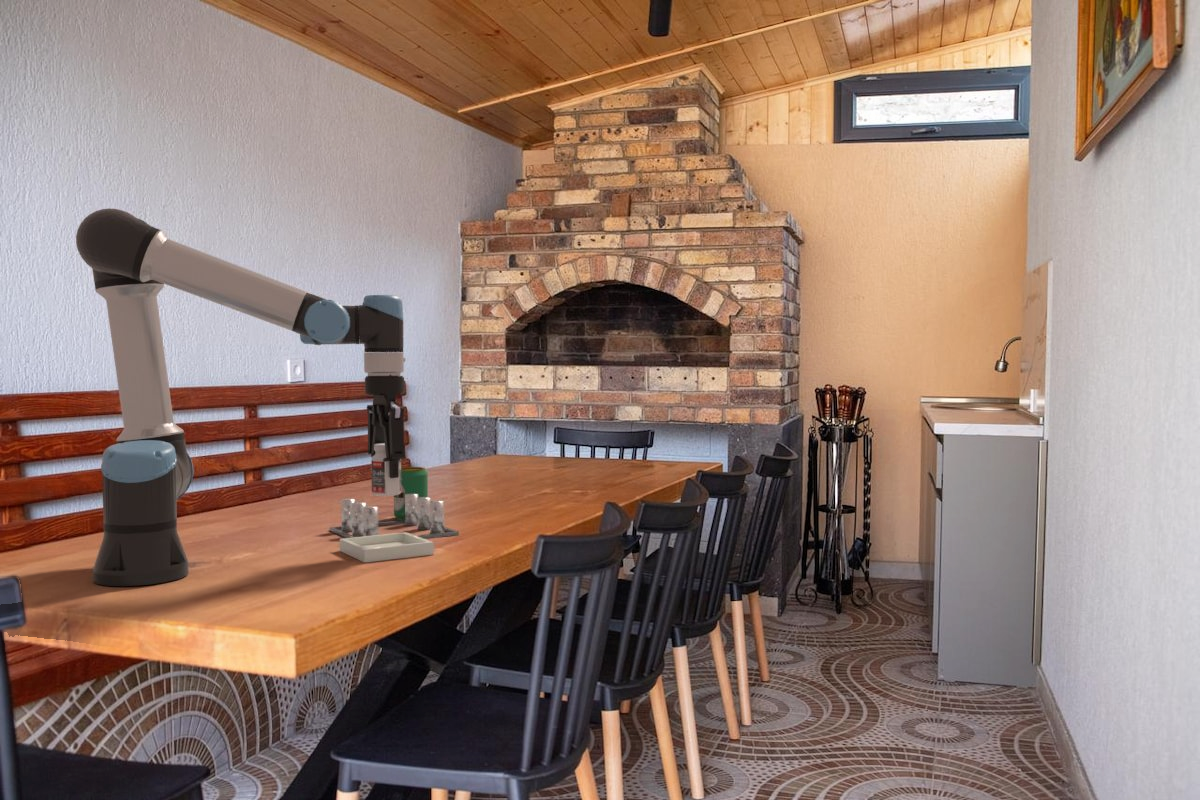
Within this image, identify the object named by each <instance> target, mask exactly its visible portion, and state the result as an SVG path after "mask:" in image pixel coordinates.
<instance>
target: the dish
mask: <svg viewBox="0 0 1200 800" xmlns="http://www.w3.org/2000/svg"><path fill="white" fill-rule="evenodd" d="M434 542H435V541H431V540H428V539H427V538H425V539H423V538H421V537H418V535H415V534H412V533H411V532H410V533H409V532H406V531H404V532H395V533H394V532H393V533H384V534H378V535H372V536H360V537H356V536H355V537H353V538H345V537H343V538H339V552H342V553H344V554H346V555H348V556H349V557H351V558H354V559H357V560H359V561H361V562H362V563H372V562H382V561H388V560H399V559H407V558H414V557H415V558H417V557H423V556H424V557H425V556H433V555H434V554H435V543H434Z"/></svg>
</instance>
